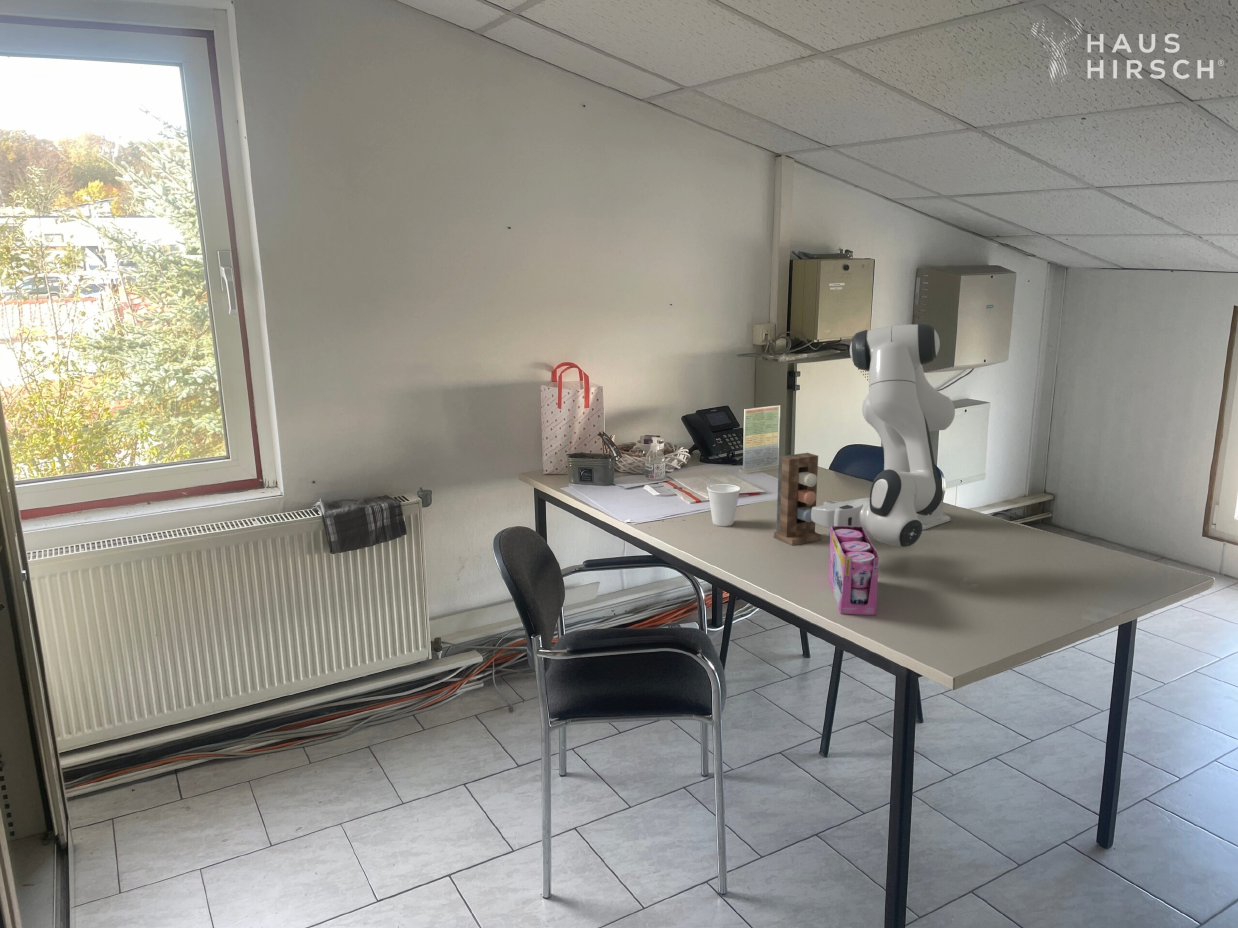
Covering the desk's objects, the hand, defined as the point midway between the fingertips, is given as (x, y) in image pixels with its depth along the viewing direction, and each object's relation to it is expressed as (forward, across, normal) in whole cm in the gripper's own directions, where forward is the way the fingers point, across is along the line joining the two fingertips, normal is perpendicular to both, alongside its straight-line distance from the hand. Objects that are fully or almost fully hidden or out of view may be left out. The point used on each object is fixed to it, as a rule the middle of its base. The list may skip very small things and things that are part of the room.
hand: (827, 503), depth 229 cm
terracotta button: (+9, 0, +2) cm, 9 cm away
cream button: (+9, 0, -3) cm, 9 cm away
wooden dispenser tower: (+12, 0, +13) cm, 18 cm away
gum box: (-28, +16, +13) cm, 35 cm away
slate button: (+9, 0, +7) cm, 11 cm away
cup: (+34, +10, +13) cm, 38 cm away
